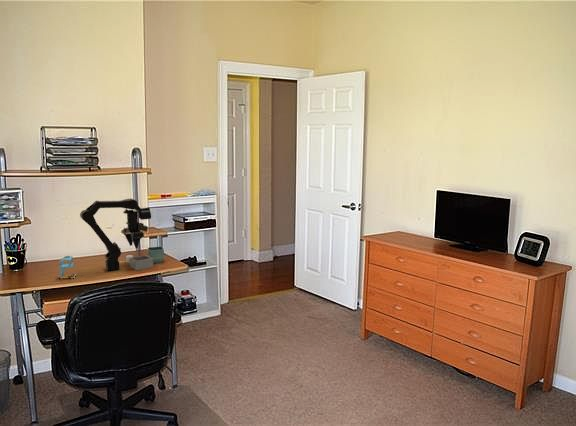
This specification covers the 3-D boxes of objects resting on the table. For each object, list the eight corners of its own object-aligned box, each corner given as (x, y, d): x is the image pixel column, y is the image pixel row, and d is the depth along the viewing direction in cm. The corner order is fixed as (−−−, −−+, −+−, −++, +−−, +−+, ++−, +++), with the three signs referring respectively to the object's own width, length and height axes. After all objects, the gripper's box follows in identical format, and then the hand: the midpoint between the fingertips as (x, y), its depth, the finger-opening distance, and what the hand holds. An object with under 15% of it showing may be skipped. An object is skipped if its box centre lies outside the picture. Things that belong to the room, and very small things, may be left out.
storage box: (136, 271, 293) (136, 261, 292) (130, 267, 301) (129, 257, 300) (153, 268, 299) (152, 258, 298) (146, 264, 307) (145, 255, 306)
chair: (60, 276, 285) (58, 255, 283) (76, 275, 287) (74, 254, 285) (58, 280, 278) (55, 258, 276) (74, 279, 280) (72, 257, 278)
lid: (124, 267, 304) (123, 259, 303) (117, 263, 313) (117, 255, 312) (142, 264, 311) (141, 256, 310) (135, 260, 319) (134, 252, 319)
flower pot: (165, 263, 309) (164, 249, 308) (149, 265, 306) (149, 250, 304) (162, 260, 317) (162, 246, 316) (148, 261, 314) (147, 247, 313)
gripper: (152, 221, 295) (153, 248, 297) (140, 217, 309) (141, 242, 312) (132, 223, 288) (134, 250, 291) (121, 218, 303) (123, 244, 305)
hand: (133, 246), depth 300 cm, fingers open, 9 cm apart
